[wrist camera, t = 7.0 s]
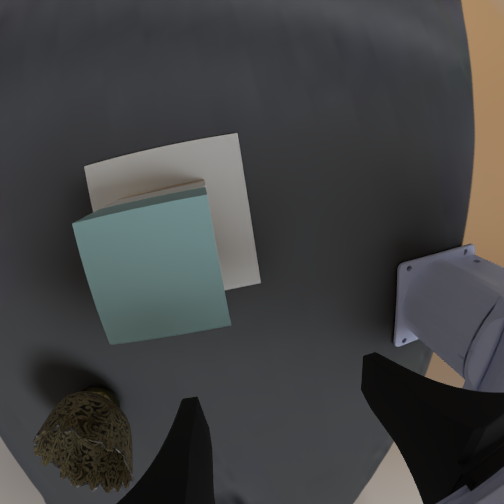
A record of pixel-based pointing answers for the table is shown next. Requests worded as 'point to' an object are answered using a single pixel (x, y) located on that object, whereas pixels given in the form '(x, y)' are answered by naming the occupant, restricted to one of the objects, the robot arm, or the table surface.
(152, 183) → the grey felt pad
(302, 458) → the table surface
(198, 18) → the table surface
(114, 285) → the teal block
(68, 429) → the olive lace dome
